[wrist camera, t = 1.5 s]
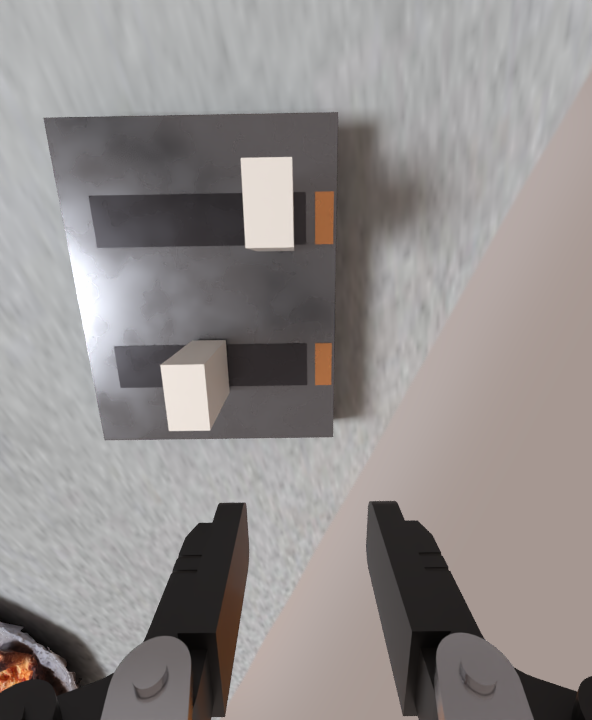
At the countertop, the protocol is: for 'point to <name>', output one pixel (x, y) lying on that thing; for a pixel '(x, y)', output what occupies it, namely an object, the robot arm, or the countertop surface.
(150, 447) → the countertop surface
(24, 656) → the food plate
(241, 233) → the breaker panel
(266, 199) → the on handle
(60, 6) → the countertop surface
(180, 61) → the countertop surface
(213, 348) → the handle
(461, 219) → the countertop surface
